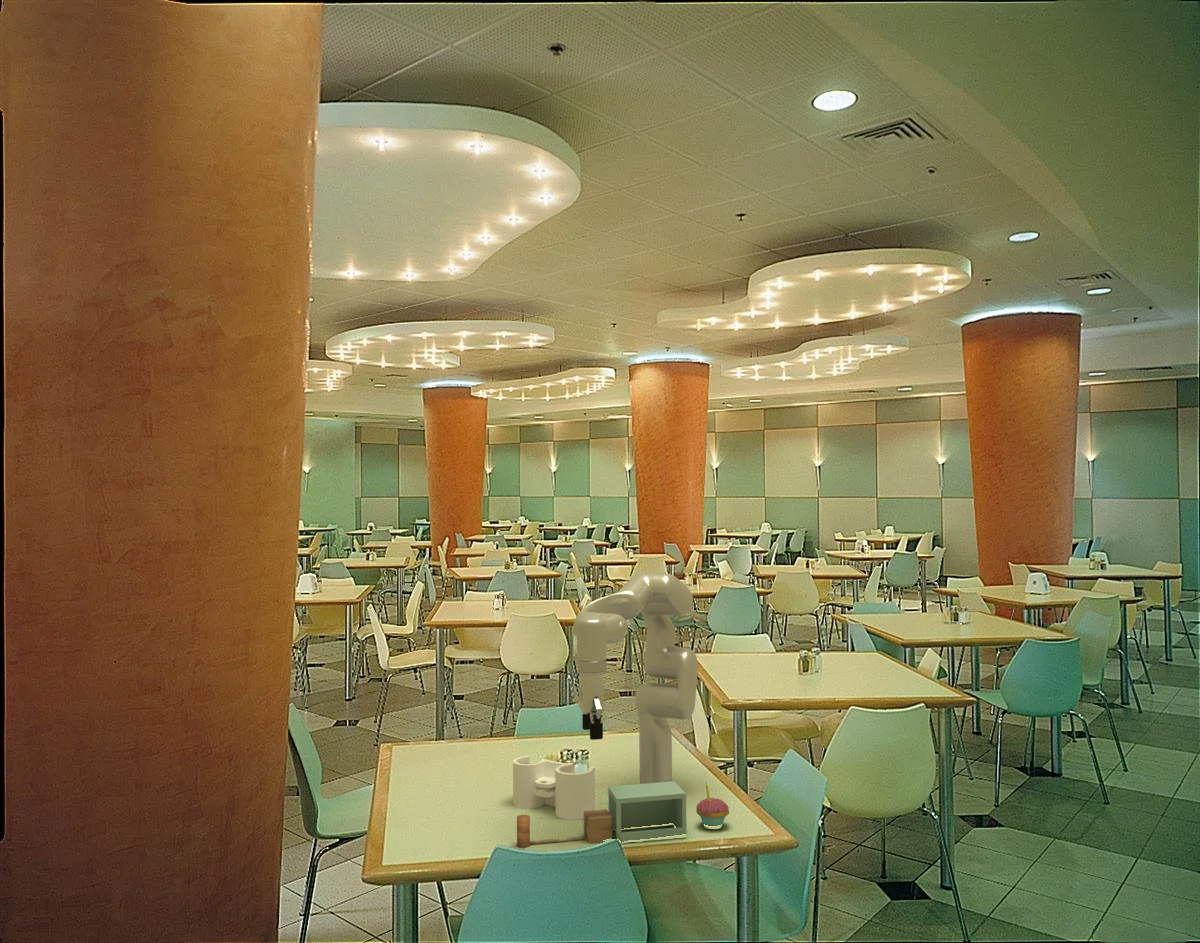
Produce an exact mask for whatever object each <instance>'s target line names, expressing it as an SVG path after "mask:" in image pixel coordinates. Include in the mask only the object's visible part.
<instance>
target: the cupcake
mask: <svg viewBox="0 0 1200 943" xmlns="http://www.w3.org/2000/svg"><path fill="white" fill-rule="evenodd" d="M709 789H710V788H709V784H708V783H707V782H706V781H705V790H706V798H705V799H702V800H700V801H699V802H698V803H697V805H696V809H695V811H696V814H697V815H698V816H699V817H700V819H701V822H702V825H703V824H705V825H708V826H718V825H721V824H724V822H725V819H726V817H727V816H728V815H729V814H730V810H729V808H730V807H729V805H728V804H727V803H726V802H725V801H724V800H722V799H720V798H718V797H717V798H715V797H710V790H709Z"/></svg>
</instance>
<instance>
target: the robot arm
mask: <svg viewBox="0 0 1200 943" xmlns="http://www.w3.org/2000/svg"><path fill="white" fill-rule="evenodd" d="M693 606H694V597H693V594H692V591H691V589H690V588H689V587H688V586H687V585H686V584H684V582H682V581H681V580H680V579H679V578H677V577H676V576H675V575H672V574H670V573H665V572H663V573H662V572H661V573H660V572H638V573H636V574H635V575H633V576H632V577H631V578H630V579H629V580H628V581H627V582H626V583H625V584H624V585H623V586H622V587H621V588H620V589H619V590H618V591H617V592H614V593H611V594H608V595H605V596H603V597H601V598H597V599H595V600H593V601H591V602H589V603H587V604H586V605H585V606H584V607H583V608H582V609H581V610H580V611H579V612H578V613H577V615H576V616H575V617H574V622H573V626H572V627H573V634H574V635H575V637H576V672H577V674H579V678H578V679H579V680H578V708H579V709H580V710H581V711H582V714H581V715H582V716H581V717H582V721H581V722H582V730H584V731H586V730H587V731H589V739H590V740H591V741H593V740H594V741H595V740H597V741H598V740H603V739H604V728H603V727H604V723H603V715H602V713H604V709H605V708H604V707H605V698H604V691H605V690H604V674H607V672H608V671H607V670H608V669H607V644H616V643H619V642H621V641H623V640H624V639H625V637H626V636H627V634H628V621H627V620H633V619H634V618H636V617H638V616H639V615H640V614H641V615H642V617H643V619H644V621H645V624H646V625H645V626H646V642H645V650H644V651H645V652H644V662H643V663H644V664H643V665H644V666H643V668H644V672H645V674H646V675H647V676H648V677H650V678H654V679H661V680H673V681H677V684H669V683H663V682H662V683H660V682H647V683H646V682H645V683H643V684H641V685H640V686H638V688H637V690H636V691H635V705H636V706H635V707H636V712H637V718H638V731H639V732H638V733H639V738H638V739H639V741H638V742H639V746H638V747H639V753H638V754H639V784H646V783H659V782H672V781H673V744H672V743H673V737H672V735H673V734H672V728H671V726H670V724H669V722H668V720H667V719H673V720H675V719H676V720H687V719H690V718H692V716H693V714H694V710H695V707H696V706H695V705H696V697H697V686H698V685H697V683H698V675H699V674H698V673H699V670H698V668H699V663H698V662H699V661H698V657H697V654H696V653H695V651H694V650H692V649H691V648H689V647H688V648H687V647H683V646H682V647H681V646H680V647H679V646H675V645H676V644H675V643H676V628H675V625H674V623H673V622H672V619H671V618H670V617H669V616H675V617H676V616H680V617H684V616H686V615H689V613H691V611H692V610H693Z"/></svg>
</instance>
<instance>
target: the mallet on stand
mask: <svg viewBox="0 0 1200 943" xmlns="http://www.w3.org/2000/svg"><path fill="white" fill-rule="evenodd" d="M530 817H531V816H530V815H529V814H519V815H517V816H516V846H517V847H518V848H520V849H521V848H524V849H525V848H528V847H530V846H532V845H543V844H549V843H550V844H552V843H553V844H554V843H562V842H563V843H564V842H572V841H573V842H574V841H581V840H583V841H584V840H586V841H587V843H588V844H600V843H602V842H601V841H603V840H606V839H610V838H612V839H613V831H612V817H611V815H610V814H609V812H608V809H606V808H605V809H595V810H592V811H584V819H583V836H582V835H580V836H571V837H570V836H569V837H561V838H560V837H559V838H552V839H549V838H548V839H540V840H531V822H530V821H531V818H530ZM599 842H600V843H599Z"/></svg>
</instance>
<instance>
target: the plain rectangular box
mask: <svg viewBox="0 0 1200 943" xmlns="http://www.w3.org/2000/svg"><path fill="white" fill-rule="evenodd" d="M607 791H608V792H607V793H608V795H607V796H608V799H607V800H608V801H607V802H608V803H607V805H608V809H607V811H608V812H609V814H610V815H611V817H612V830H616V831H615V839H616V838H618V839H619V840H620V841H621V843H622V842H624V841H628V840H640V839H650V838H658V837H666V836H674V835H682V834H687V832H688V831H687V793H686V792H685V790H684V789H682V788H681V786H680V785H679V784H678V783H677V782H676V781H675V780H674V781H673V780H672V782H659V783H646V784H640V783H636V784H635V783H634V784H624V785H623V784H621V785H610V786H607ZM669 823H673V824H674V825H675V826H676V828H674V827H668V828H656V829H655V828H654V829H644V830H633V831H631V830H630V831H622V830H621V829H624V828H631V827H642V826H651V825H662V824H669ZM687 835H688V834H687Z"/></svg>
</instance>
